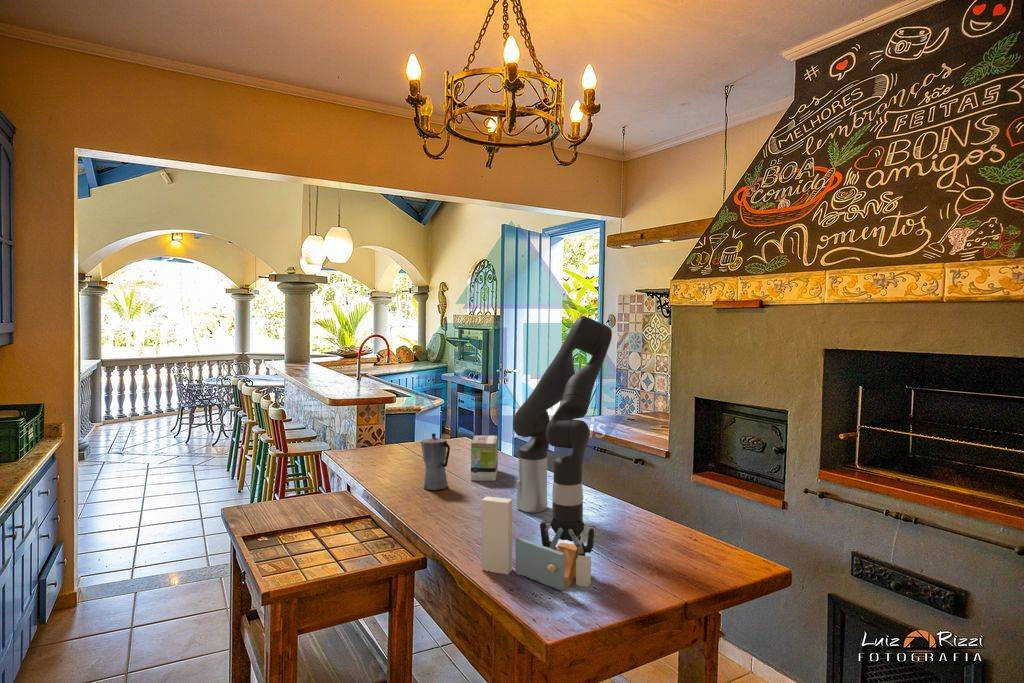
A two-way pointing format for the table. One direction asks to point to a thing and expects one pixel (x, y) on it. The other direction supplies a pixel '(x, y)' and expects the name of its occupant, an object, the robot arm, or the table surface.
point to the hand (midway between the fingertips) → (567, 565)
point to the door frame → (500, 540)
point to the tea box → (484, 458)
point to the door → (540, 563)
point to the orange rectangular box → (568, 561)
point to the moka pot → (435, 462)
